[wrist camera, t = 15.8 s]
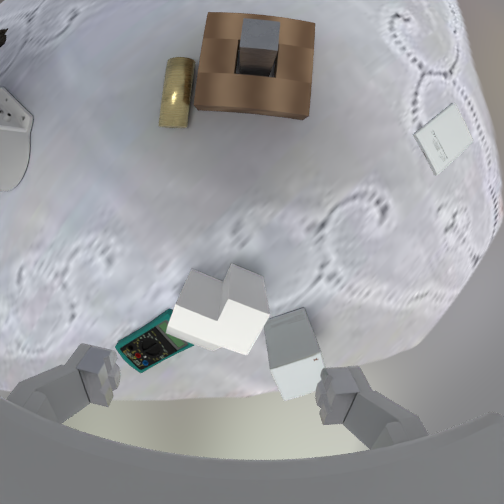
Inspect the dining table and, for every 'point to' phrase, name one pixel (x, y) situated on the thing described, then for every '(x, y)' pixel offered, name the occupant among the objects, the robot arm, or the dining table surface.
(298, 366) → the supplement box
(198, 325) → the corner bracket
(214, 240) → the dining table surface
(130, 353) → the digital multimeter
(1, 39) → the dark elongated pod
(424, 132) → the external hard drive
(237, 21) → the socket block
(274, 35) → the square bit
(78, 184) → the dining table surface
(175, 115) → the round bit
